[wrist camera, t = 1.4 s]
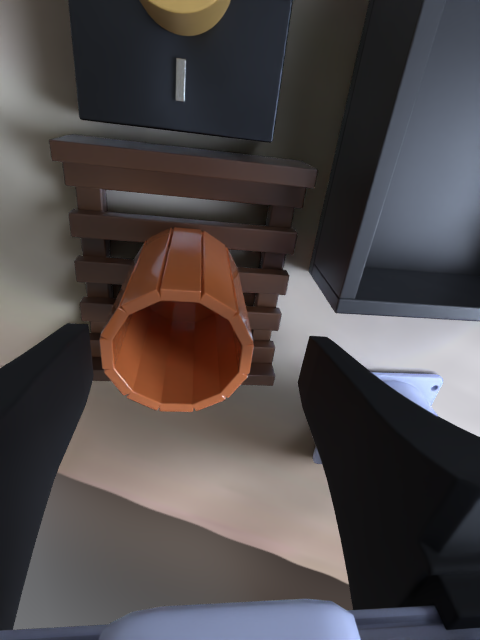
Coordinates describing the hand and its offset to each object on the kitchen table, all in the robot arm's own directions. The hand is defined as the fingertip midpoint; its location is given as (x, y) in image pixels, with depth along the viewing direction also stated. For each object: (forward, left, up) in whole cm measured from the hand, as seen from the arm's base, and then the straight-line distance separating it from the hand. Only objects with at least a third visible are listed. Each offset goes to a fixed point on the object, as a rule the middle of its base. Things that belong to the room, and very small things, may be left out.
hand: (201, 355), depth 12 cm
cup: (-1, +1, -8) cm, 8 cm away
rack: (-1, +1, -10) cm, 10 cm away
